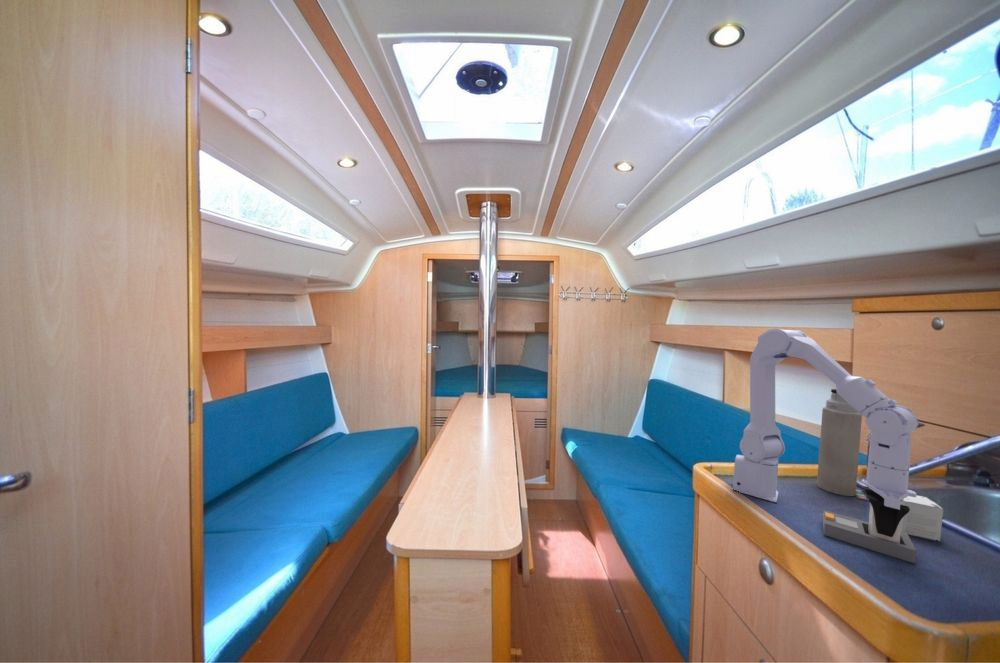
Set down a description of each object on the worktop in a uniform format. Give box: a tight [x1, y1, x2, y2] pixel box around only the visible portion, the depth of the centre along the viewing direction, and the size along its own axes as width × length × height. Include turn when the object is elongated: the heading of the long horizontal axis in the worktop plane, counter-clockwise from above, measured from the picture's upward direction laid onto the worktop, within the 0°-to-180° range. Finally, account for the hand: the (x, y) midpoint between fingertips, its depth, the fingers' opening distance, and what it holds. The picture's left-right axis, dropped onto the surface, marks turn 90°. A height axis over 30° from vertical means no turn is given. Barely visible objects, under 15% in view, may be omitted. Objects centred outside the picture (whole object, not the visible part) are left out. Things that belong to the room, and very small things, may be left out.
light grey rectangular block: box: [868, 502, 902, 543], centre depth 74 cm, size 4×4×7 cm
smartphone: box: [854, 488, 870, 503], centre depth 94 cm, size 8×15×1 cm, turn 56°
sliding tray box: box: [822, 509, 917, 564], centre depth 76 cm, size 13×8×3 cm, turn 50°
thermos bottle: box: [816, 388, 863, 497], centre depth 100 cm, size 8×8×28 cm
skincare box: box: [900, 494, 944, 542], centre depth 80 cm, size 6×6×7 cm
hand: (882, 529), depth 74 cm, fingers closed on light grey rectangular block, 4 cm apart
